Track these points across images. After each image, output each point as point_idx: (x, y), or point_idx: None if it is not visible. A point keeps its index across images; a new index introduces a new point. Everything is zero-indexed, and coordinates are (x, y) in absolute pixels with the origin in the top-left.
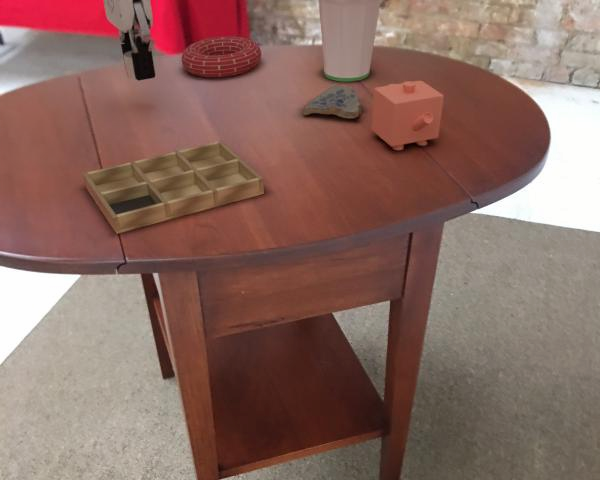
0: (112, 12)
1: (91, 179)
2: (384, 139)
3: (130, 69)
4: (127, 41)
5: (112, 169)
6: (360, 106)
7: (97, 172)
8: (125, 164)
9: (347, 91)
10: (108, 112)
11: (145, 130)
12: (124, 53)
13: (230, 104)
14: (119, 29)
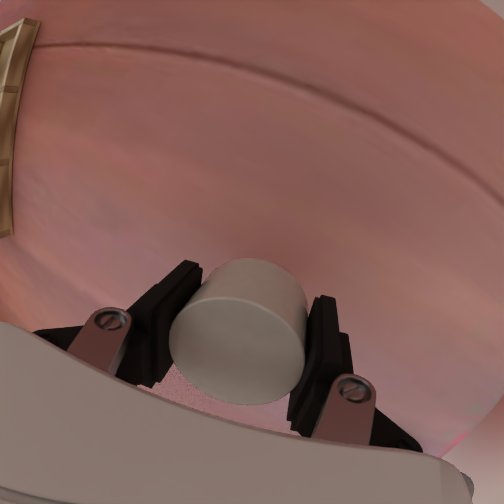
0: (88, 497)
1: (10, 29)
2: None
3: (220, 276)
4: (311, 396)
5: (9, 57)
6: None
7: (15, 37)
8: (4, 77)
9: None
10: (322, 159)
11: (135, 177)
12: (284, 326)
13: (164, 386)
14: (48, 345)
